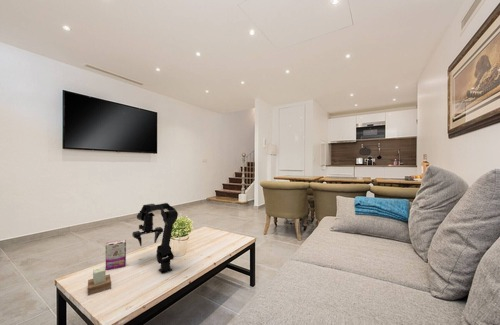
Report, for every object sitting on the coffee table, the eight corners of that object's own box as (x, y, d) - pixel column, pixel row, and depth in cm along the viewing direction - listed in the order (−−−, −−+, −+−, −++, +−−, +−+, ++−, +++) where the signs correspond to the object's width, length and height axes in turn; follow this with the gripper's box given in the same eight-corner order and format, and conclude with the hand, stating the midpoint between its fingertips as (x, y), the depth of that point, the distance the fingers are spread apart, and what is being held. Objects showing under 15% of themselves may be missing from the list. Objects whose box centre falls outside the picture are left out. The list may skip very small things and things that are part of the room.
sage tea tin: (105, 281, 114) (105, 270, 114) (94, 284, 110) (94, 273, 110) (104, 277, 117) (104, 266, 117) (93, 280, 114) (93, 269, 114)
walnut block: (111, 289, 113) (111, 281, 113) (87, 296, 107) (87, 288, 107) (109, 281, 121) (109, 274, 121) (87, 287, 115) (88, 279, 115)
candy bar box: (126, 263, 142) (126, 239, 142) (125, 266, 137) (125, 241, 137) (106, 267, 136) (106, 242, 137) (105, 270, 132) (105, 244, 132)
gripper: (158, 217, 157) (158, 238, 157) (130, 222, 144) (130, 244, 144) (163, 220, 149) (163, 242, 148) (134, 225, 136) (134, 249, 136)
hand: (148, 244), depth 144 cm, fingers open, 9 cm apart
